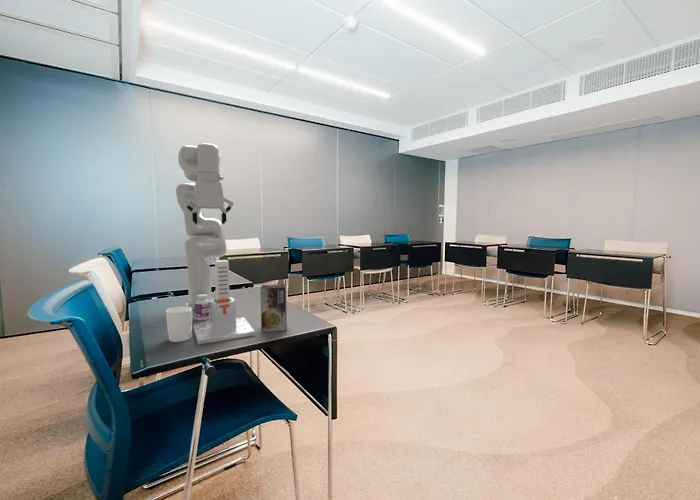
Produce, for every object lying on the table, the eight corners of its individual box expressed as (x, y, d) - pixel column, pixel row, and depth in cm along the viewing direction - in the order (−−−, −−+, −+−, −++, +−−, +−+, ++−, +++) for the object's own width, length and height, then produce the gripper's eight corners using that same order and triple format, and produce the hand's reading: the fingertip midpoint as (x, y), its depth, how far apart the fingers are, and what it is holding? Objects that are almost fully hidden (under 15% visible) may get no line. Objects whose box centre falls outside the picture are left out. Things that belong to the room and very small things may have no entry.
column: (215, 310, 114) (213, 260, 113) (228, 308, 117) (227, 259, 115) (217, 313, 111) (215, 262, 109) (230, 311, 113) (229, 261, 111)
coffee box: (286, 325, 122) (286, 283, 121) (286, 330, 116) (286, 287, 115) (262, 326, 121) (261, 284, 119) (260, 332, 115) (260, 287, 113)
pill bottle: (204, 321, 126) (203, 297, 125) (192, 320, 127) (191, 296, 126) (212, 317, 131) (212, 294, 130) (201, 316, 132) (200, 293, 131)
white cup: (165, 344, 102) (164, 313, 101) (168, 336, 109) (167, 307, 108) (192, 341, 105) (191, 311, 104) (194, 333, 113) (193, 305, 112)
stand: (193, 328, 118) (192, 294, 117) (244, 321, 127) (243, 290, 125) (197, 344, 102) (196, 306, 101) (254, 335, 111) (254, 300, 110)
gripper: (231, 180, 128) (231, 223, 129) (182, 177, 119) (183, 223, 121) (234, 178, 121) (235, 224, 123) (183, 175, 113) (184, 223, 114)
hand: (209, 223), depth 122 cm, fingers open, 9 cm apart
